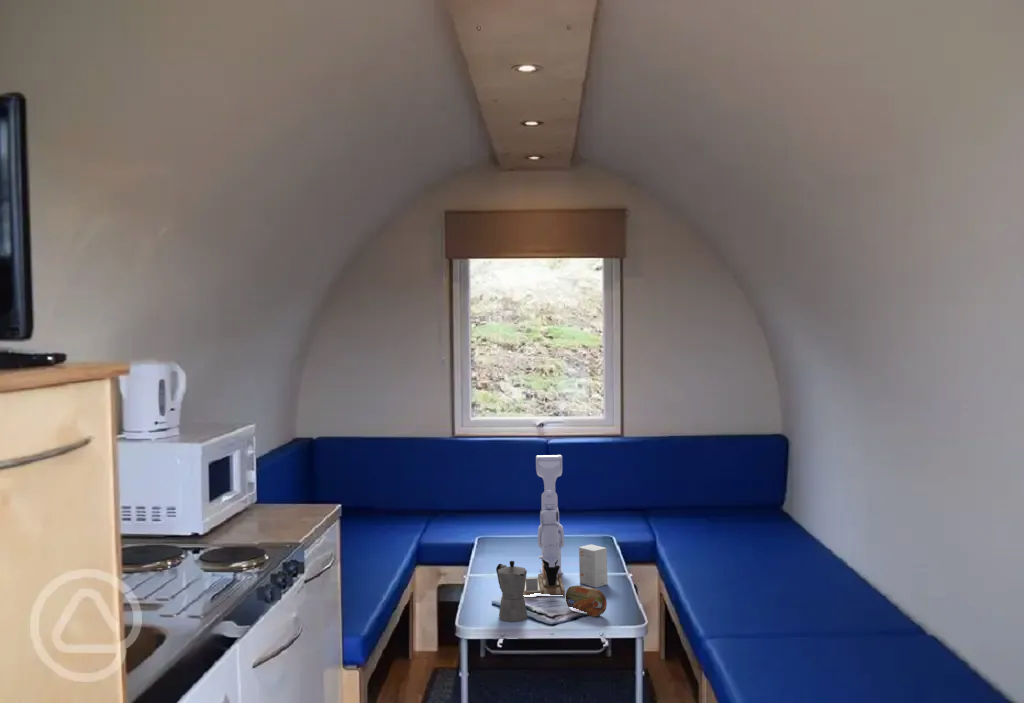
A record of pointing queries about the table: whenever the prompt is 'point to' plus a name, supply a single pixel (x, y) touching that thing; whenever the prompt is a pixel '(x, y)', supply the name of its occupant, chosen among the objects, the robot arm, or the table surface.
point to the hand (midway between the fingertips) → (551, 582)
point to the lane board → (549, 590)
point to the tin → (586, 600)
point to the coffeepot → (512, 592)
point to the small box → (593, 565)
